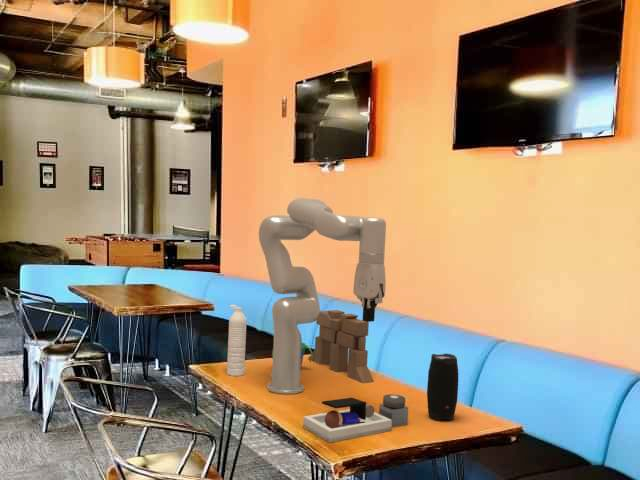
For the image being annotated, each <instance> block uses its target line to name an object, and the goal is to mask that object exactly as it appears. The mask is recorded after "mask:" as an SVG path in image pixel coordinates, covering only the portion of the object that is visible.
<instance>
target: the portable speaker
mask: <svg viewBox="0 0 640 480" xmlns="http://www.w3.org/2000/svg"><path fill="white" fill-rule="evenodd" d="M430 359H431V360H430V363H429V368H428V371H427V372H428V373H427V375H428V376H427V384H426V385H427V387H426V388H427V389H426V398H427V401H426V402H427V414H428V417H429V419H430V420H434V421H437V422H439V421H441V420H448V421H449V422H451V421H454V417H455V413H456V409H457V403H458V395H459V367H458V358H457V357H456V355H454V354H452V353H442V354H441V353H440V354H436V353H432V354H431V358H430Z"/></svg>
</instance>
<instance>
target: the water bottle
mask: <svg viewBox="0 0 640 480" xmlns="http://www.w3.org/2000/svg"><path fill="white" fill-rule="evenodd" d="M229 309H234V312H233V313H232V314H231V316H230V317H229V320H228V338H227V339H228V340H227V358H226V359H227V361H226V362H227V363H226V374H227V375H228V376H232V377H241V376H244V375H245V369H246V368H245V365H246V363H245V361H246V343H247V342H246V340H247V318H246V315H245V314H244V313H243V309H242V307H241V306H238V305H236V304H230V305H229Z"/></svg>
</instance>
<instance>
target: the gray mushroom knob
mask: <svg viewBox="0 0 640 480" xmlns="http://www.w3.org/2000/svg"><path fill="white" fill-rule="evenodd" d="M382 397H383V398H382V404H383V405H385V406H387V407H392V408H401V407H404V406H406V397H404V396H403V395H400V394H399V395H398V394H385V395H383V396H382Z"/></svg>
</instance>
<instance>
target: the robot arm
mask: <svg viewBox="0 0 640 480" xmlns="http://www.w3.org/2000/svg"><path fill="white" fill-rule="evenodd" d="M286 211H287V212H286V213H287V215H279V214H277V215H276V214H275V215H270V216H267V217H265V218H264V219H263V220H262V221H261V223H260V225H259V229H258V240H259V244H260V247H261V249H262V252H263V255H264V259H265V263H266V268H267V273H268V277H269V282H270V286H271V289H272V291H273V292H274V293H275V294H277V295H291V294H292V295H293V294H294V295H296V296H286V297H281V298H278V299H277V300H275V302H274V303H273V305H272V309H271V314H272V321H273V347H272V351H273V359H272V371H271V372H272V373H270V374H269V377H270V379H271V382H269V383H267V384H266V385H267V386H266V389H267V390H268V392H271V393H275V394H282V395H293V394H299V393H302V392H303V391H304V390H305V385H304V384H302V383H300V381H301V380H300V378H301V369H300V364H301V342H302V334H301V331H300V330H299V327H298V325H303V324H312V323H314V322H316V321H317V319H318V317H319V314H320V311H321V306H320V300H319V295H318V292H317V291H318V290H317V287H316V282H315V278H314V275H313V274H312V272H311V271H310V270H309V269H308V268H307V267H304V266H294V265H293V264H292V260H291V256H290V253H289V250H288V248H287V247H286V246H285V244H283V243H282V241H283V240H284V241H300V240H304V239H306V238H308V237H309V236H310V235H312V233H314V232H315V231H316V232H317V233H318V235H321V236H323V237H325V238H329V239H331V240H334V241H340V242H341V241H342V242H359V245H358V247H359V248H358V250H359V251H358V262H357V264H356V267H355V272H354V278H353V279H354V281H353V292H352V293H353V294H354V296H356V298H357V299H358V301H359V300H360V302H361V307H362V320H363V321H365V322H369V323H370V322H372V323H373V322H375V313H376V308H377V306H378V304H383V302H384V301H383V299H384V297H385V295H386V267H385V252H386V233H387V232H386V231H387V222H386V219H384V218H381V217H363V216H352V215H339V214H335V213H334V211H333V209H332V208H331V207H330V206H329V205H327V204H326V203H325V202H324V201H323V200H320V199H312V198H296V199H294V200H291V201H290V202H289V203H288V206H287V209H286ZM302 343H303V342H302Z"/></svg>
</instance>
